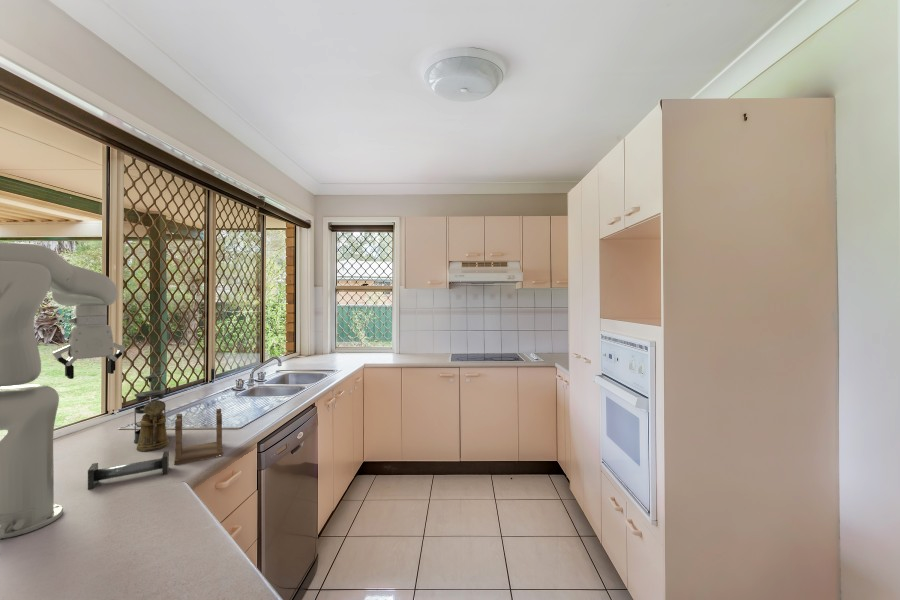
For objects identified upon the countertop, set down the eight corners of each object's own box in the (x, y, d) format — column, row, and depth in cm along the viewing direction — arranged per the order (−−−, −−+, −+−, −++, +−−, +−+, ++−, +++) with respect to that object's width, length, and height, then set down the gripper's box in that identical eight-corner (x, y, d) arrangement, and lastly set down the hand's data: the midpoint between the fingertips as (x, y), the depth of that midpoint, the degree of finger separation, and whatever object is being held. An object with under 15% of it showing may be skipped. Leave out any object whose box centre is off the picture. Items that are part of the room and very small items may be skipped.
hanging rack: (222, 455, 128) (222, 416, 128) (174, 464, 121) (174, 422, 121) (221, 444, 138) (221, 407, 138) (176, 451, 131) (176, 413, 131)
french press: (168, 440, 142) (167, 376, 142) (134, 446, 136) (134, 380, 135) (164, 431, 151) (163, 372, 150) (132, 437, 144) (132, 375, 144)
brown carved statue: (137, 458, 126) (137, 402, 126) (135, 445, 136) (135, 394, 136) (171, 451, 132) (171, 397, 132) (167, 439, 142) (167, 390, 142)
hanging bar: (167, 474, 114) (167, 456, 114) (87, 489, 105) (87, 470, 105) (168, 467, 119) (168, 450, 119) (92, 482, 110) (92, 463, 110)
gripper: (56, 323, 114) (57, 382, 114) (129, 320, 129) (129, 372, 129) (49, 322, 118) (49, 379, 118) (120, 320, 133) (120, 370, 132)
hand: (91, 375), depth 123 cm, fingers open, 9 cm apart
